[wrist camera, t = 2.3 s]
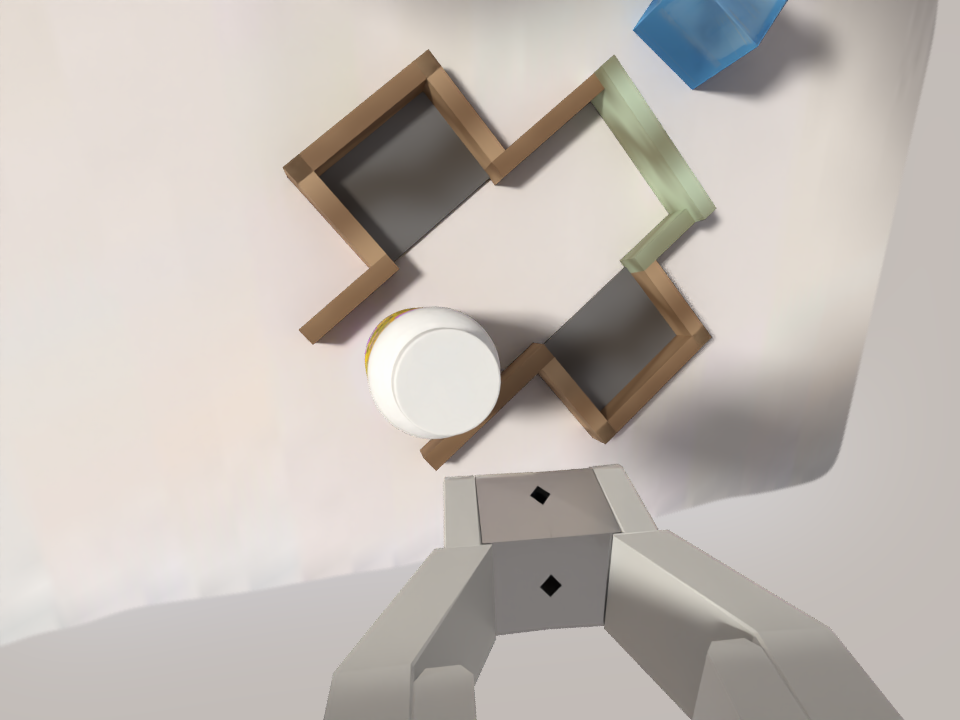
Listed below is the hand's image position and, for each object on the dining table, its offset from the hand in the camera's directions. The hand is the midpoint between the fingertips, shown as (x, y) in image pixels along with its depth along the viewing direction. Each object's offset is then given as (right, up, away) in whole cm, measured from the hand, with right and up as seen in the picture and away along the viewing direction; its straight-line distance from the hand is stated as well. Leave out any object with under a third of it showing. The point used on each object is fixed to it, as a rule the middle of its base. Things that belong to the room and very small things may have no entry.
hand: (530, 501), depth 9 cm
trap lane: (+2, +9, +26) cm, 28 cm away
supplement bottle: (-5, +3, +25) cm, 26 cm away
